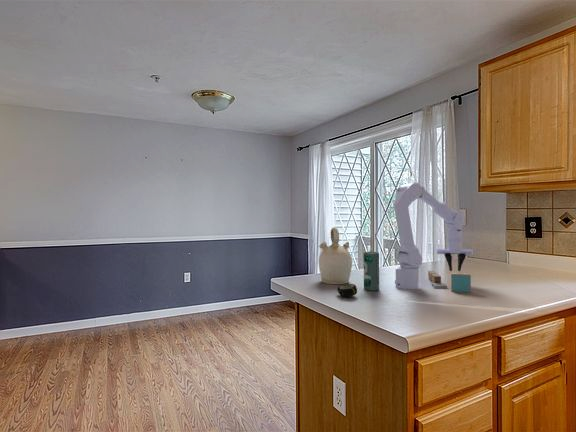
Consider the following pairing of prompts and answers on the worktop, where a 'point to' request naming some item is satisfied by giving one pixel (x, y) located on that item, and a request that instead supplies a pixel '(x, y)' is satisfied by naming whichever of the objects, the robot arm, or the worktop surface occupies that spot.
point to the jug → (335, 261)
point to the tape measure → (347, 290)
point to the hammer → (436, 280)
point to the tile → (460, 282)
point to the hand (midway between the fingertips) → (454, 270)
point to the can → (371, 270)
